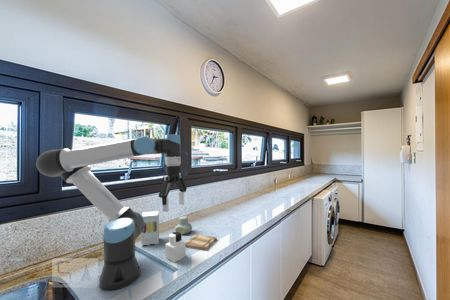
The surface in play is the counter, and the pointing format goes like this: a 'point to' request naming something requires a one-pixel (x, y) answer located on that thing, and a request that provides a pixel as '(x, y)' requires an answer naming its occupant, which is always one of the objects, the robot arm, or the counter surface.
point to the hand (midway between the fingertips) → (174, 207)
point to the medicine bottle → (175, 247)
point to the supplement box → (150, 228)
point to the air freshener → (183, 225)
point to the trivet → (200, 242)
